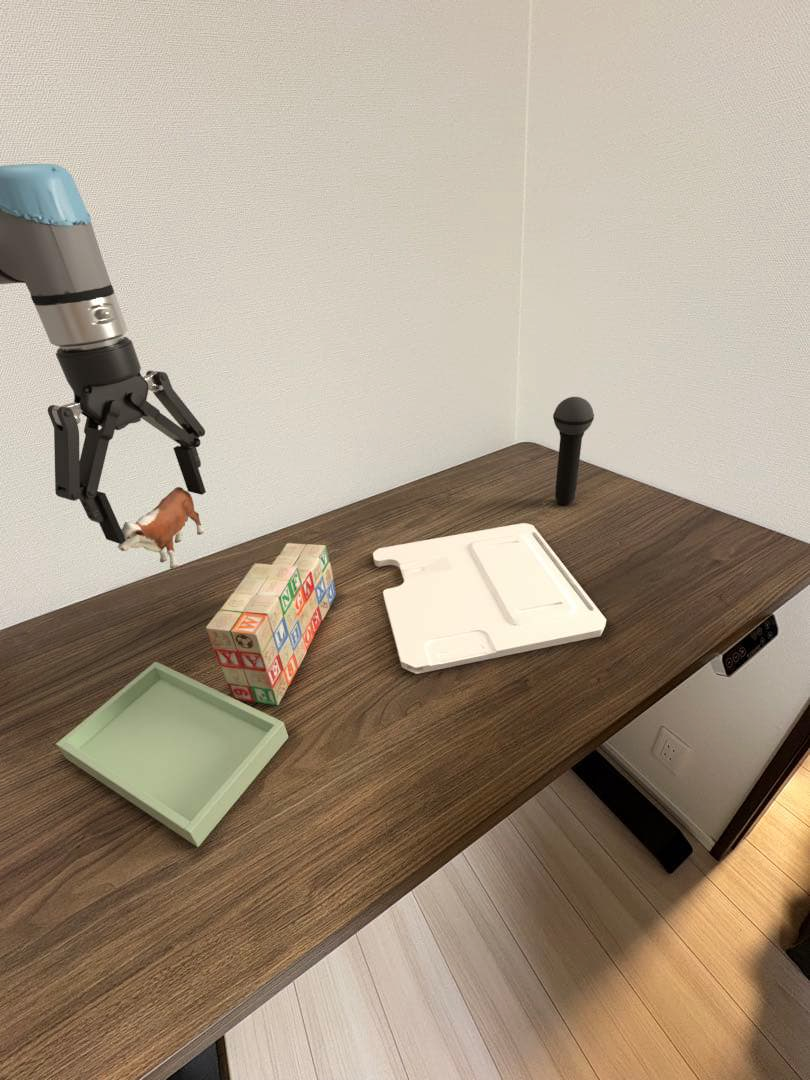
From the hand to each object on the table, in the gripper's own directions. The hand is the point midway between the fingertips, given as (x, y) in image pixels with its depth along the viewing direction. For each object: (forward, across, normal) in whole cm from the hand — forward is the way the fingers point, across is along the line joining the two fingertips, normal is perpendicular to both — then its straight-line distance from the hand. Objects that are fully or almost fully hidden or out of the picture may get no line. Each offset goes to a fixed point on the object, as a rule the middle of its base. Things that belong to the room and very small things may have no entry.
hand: (159, 514), depth 68 cm
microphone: (+19, +53, -40) cm, 69 cm away
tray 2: (+19, +23, -35) cm, 45 cm away
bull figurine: (+7, 0, 0) cm, 7 cm away
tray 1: (+18, -17, -14) cm, 29 cm away
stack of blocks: (+19, +2, -15) cm, 24 cm away
